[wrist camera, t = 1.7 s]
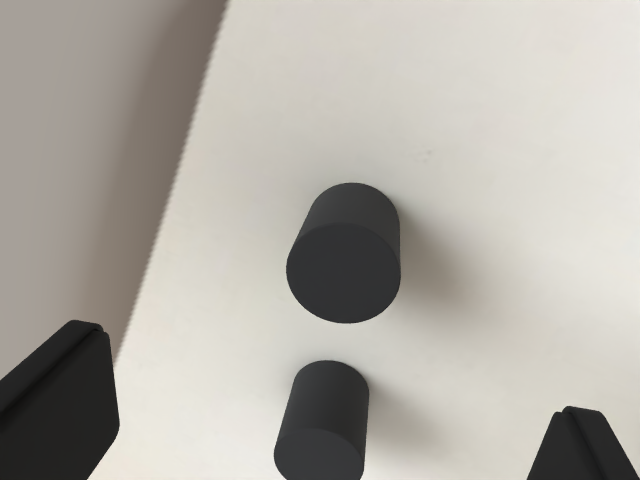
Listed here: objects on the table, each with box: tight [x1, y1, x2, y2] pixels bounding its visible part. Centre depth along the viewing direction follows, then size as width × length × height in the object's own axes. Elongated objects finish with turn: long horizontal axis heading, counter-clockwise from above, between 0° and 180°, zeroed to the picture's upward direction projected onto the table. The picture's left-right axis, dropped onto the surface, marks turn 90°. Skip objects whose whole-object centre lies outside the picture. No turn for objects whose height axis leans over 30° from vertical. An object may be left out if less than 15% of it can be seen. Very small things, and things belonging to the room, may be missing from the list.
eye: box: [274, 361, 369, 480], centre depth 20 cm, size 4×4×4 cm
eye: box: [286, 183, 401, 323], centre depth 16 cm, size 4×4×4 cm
